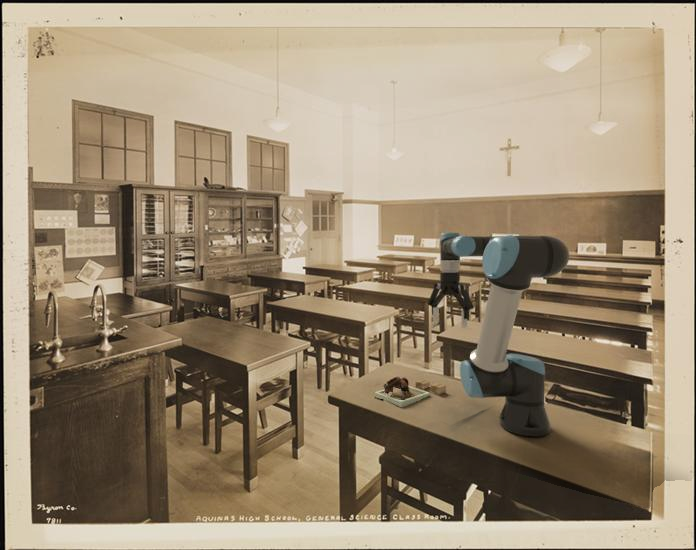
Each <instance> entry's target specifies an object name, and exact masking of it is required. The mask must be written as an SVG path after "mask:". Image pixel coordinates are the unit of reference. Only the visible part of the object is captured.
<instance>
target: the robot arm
mask: <svg viewBox="0 0 696 550" xmlns="http://www.w3.org/2000/svg"><path fill="white" fill-rule="evenodd" d="M439 240H440V241H439V244H440V247H439V248H440V250H439V251H440V264H439V267H440V268H439V270H440V274H439V275H440V276H439V278H440V279H439V280H440V282H439V283H437V282H436V283H434V284H433V289H432V292H431V295H430V296H429V300H428V302H427V305H428V306H430V307H431V315H432V324H439V323H440V322H439V320H440V316H439V315H440V313H439V311H440V308H439V307H440V306H439V304H440V303H441V301H442V300H444V297H445V296H453V297H454V298H455V299H456V301H457V302H458V304H459V305H460V307H461V308H462V310H461V317H460V318H461V322H460V323H461V325H460V326H461V328H468V319H469V318H470V310H474V309H475V308H474V304H473V302H472V299H471V297H470V294H469V292H468V288H467V284H460V281H461V273H460V270H461V269H460V267H461V265H460V264H461V261H460V260H461V258H463V257H464V258H466V257H481V258H482V259H481V262H482V265H481V266H482V270H483V274H484V275H485V277H486V280H487V282H488V283H489V284H490V288H489V293H488V297H487V302H486V307H485V309H484V315H483V320H482V323H481V328H480V333H479V336H478V341H477V346H476V348H475V349H474V350H472V351H470V355H469V358H468V359H467V360H466V359H465V360H463V361H461V362H460V365H459V376H460V381H461V383H462V387H463V389H464V392H465V393H466V395H467V396H469V397H470V398H474V399H485V398H487V399H488V398H505V401H504V404H503V407H502V409H501V412H500V413H499V425H500V426H501V428H502V429H504V430H505V431H506V432H507V431H508V432H511V433H513V434H516V435H520V436H525V437H526V436H527V437H542V436H547V435H548V434H550V431H551V422H550V419H549V416H548V413H547V409H546V406H545V390H546V389H545V387H546V385H545V383H546V382H545V380H546V379H545V377H546V370H545V369H546V367H545V364H544V361H542V360H541V359H539V358H536V357H534V356H531V355H530V356H529V355H525V354H520V353H507V351H508V348H509V344H510V341H511V336H512V332H513V328H514V325H515V320H516V318H517V314H518V310H519V306H520V302H521V299H522V298H521V297H522V295H523V292H525V291H527V290H528V289H530V287H531V283H532V279H537V278H539V279H540V278H541V279H542V278H550V277H553V276H556V275H558V274H560V273H561V272H562V271H563V270H565V268H566V267H567V266H568V263H569V260H570V251H569V248H568V247H567V245H566V243H565V242H563V241H562V240H561V239H559V238H556V237H554V236H549V235H513V234H509V235H500V236H499V235H497V236H496V235H495V236H482V235H481V236H477V235H475V236H474V235H473V236H471V235H470V236H469V235H461V234H460V233H459V232H442V233H441V234H440V239H439Z"/></svg>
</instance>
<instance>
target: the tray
mask: <svg viewBox="0 0 696 550" xmlns="http://www.w3.org/2000/svg"><path fill="white" fill-rule="evenodd" d="M408 387H409V389H410V388H411V390H412V389H413V390H412V391H415V390H416V392H417V391H418V392H417V393H419V392H421V393H423V394H421V393H420V394H418V395H415V396H411V397H410V398H408V399H407V398H404V399H405V400H398V399H399V398H396V397H392V396H391V397H389V396H387V395H384V394H382V393H384V390H385V388H384V389H381V390H378V391H377V390H376V391H375V392H374V395H376V396H378V397H380V398H382V399H384V400H385V401H387V402H389V403H390V402H391V403H390V404H392V403H393V404H392V405H394V404H395V405H394V406H396V405H397V406H396V407H398V406H399V408H404V407H407V406H410V405H411V404H414V403H417V402H420V401H421V399H422V400H424V399H426V398H428V397H427V396H429V395H430V396H431V392H429V391H426V390H422V389H420V388H417V387H413V386H411V385H408ZM394 388H395V387H393V389H394ZM374 395H373V396H374ZM430 396H429V397H430ZM425 397H426V398H425ZM423 398H424V399H423ZM416 401H417V402H416ZM409 404H410V405H409Z"/></svg>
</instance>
